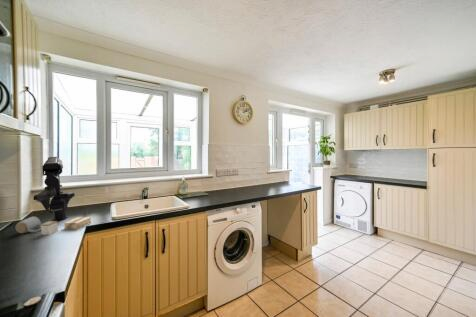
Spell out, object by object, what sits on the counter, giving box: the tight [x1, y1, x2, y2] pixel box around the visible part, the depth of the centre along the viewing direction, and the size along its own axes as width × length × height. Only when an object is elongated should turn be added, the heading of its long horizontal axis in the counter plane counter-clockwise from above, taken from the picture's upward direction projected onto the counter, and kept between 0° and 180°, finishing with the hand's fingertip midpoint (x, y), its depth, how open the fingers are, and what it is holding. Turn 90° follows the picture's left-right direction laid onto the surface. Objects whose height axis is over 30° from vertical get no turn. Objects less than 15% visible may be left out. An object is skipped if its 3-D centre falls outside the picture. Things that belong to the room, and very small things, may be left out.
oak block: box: [63, 216, 92, 230], centre depth 122 cm, size 9×9×4 cm
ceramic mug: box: [14, 216, 42, 234], centre depth 116 cm, size 11×8×8 cm
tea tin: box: [40, 220, 59, 236], centre depth 113 cm, size 5×5×6 cm
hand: (55, 210), depth 115 cm, fingers open, 9 cm apart
